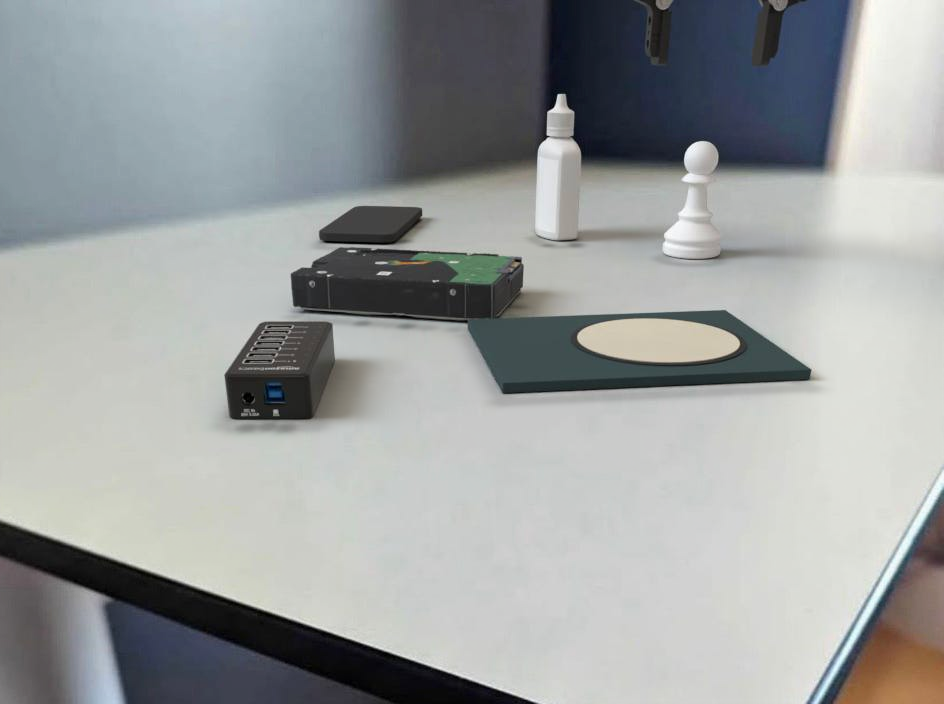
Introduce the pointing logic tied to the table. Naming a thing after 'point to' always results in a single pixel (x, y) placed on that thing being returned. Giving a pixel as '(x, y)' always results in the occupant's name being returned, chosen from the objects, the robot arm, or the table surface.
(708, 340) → the drawing mat
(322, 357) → the multiport hub
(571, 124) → the eye dropper bottle
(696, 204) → the chess pawn
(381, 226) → the phone
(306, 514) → the table surface
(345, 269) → the disk drive
